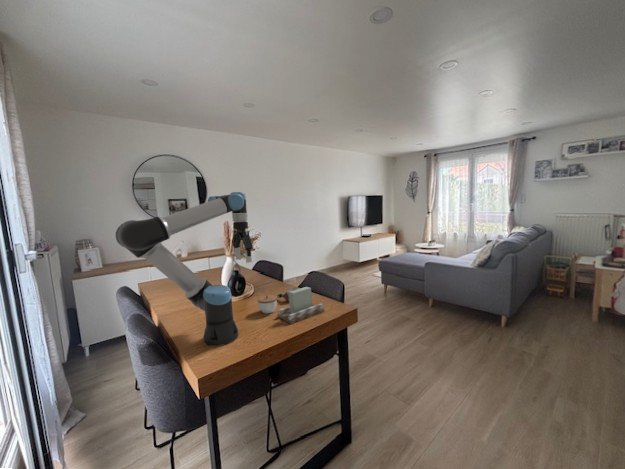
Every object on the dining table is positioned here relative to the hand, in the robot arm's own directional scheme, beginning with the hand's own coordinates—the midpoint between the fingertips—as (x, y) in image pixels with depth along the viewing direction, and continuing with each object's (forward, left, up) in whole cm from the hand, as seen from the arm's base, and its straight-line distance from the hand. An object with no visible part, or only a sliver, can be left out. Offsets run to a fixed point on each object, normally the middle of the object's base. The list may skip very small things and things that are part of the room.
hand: (243, 260), depth 140 cm
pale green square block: (+22, -20, -29) cm, 42 cm away
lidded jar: (+11, -3, -31) cm, 33 cm away
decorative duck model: (+32, +4, -31) cm, 44 cm away
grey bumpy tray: (+22, -20, -31) cm, 43 cm away
